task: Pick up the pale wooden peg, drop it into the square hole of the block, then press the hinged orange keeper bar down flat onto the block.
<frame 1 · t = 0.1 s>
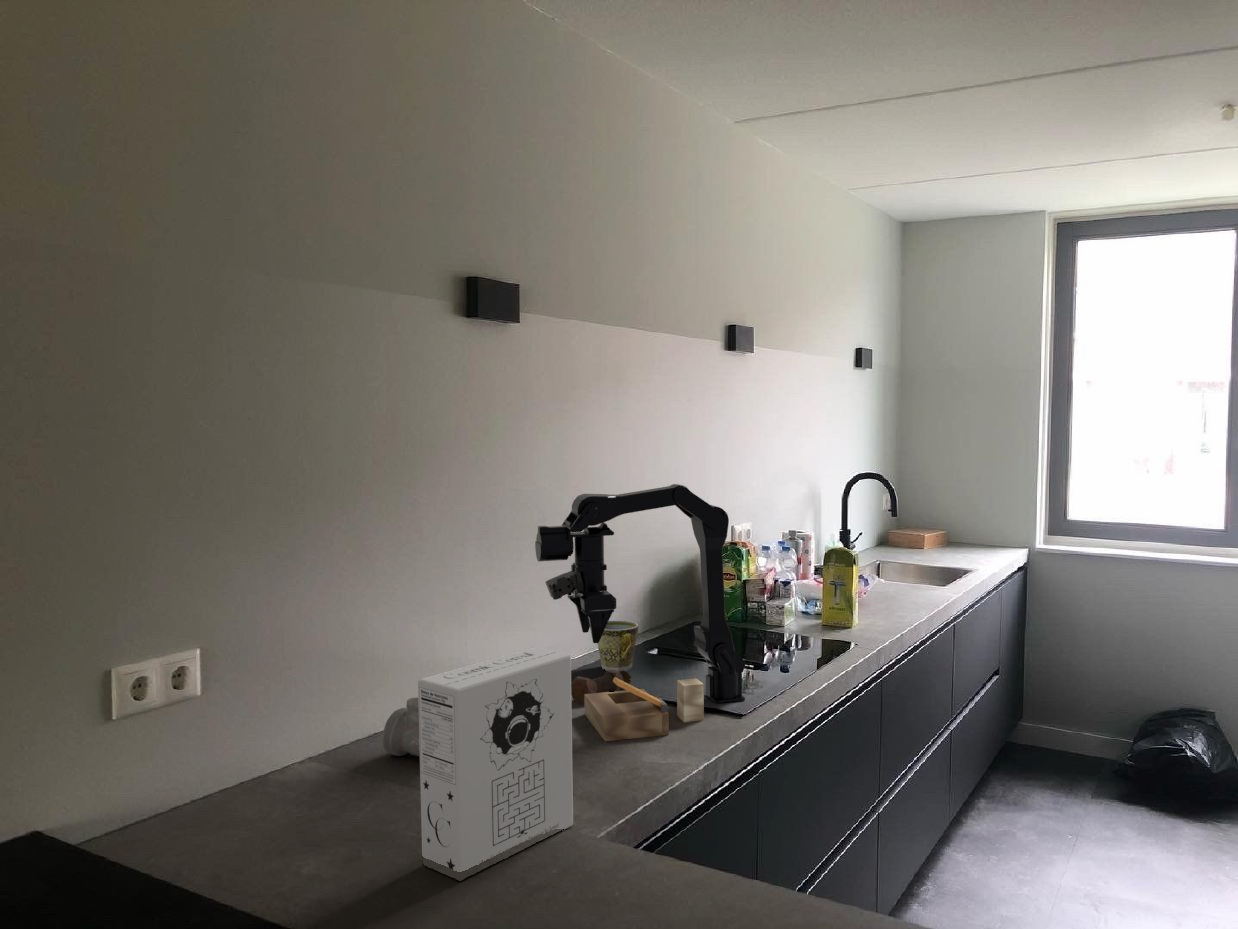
hand: (590, 637, 193), 15 cm above the countertop, fingers open, 9 cm apart
ceramic cup: (619, 670, 223), on the countertop
pipe fitting: (423, 760, 169), on the countertop
bolt: (604, 696, 205), on the countertop
peg: (690, 718, 189), on the countertop
cereal box: (501, 846, 135), on the countertop
gate: (639, 693, 181), point 7 cm above the countertop, hinge at 30.0°
block: (625, 724, 185), on the countertop
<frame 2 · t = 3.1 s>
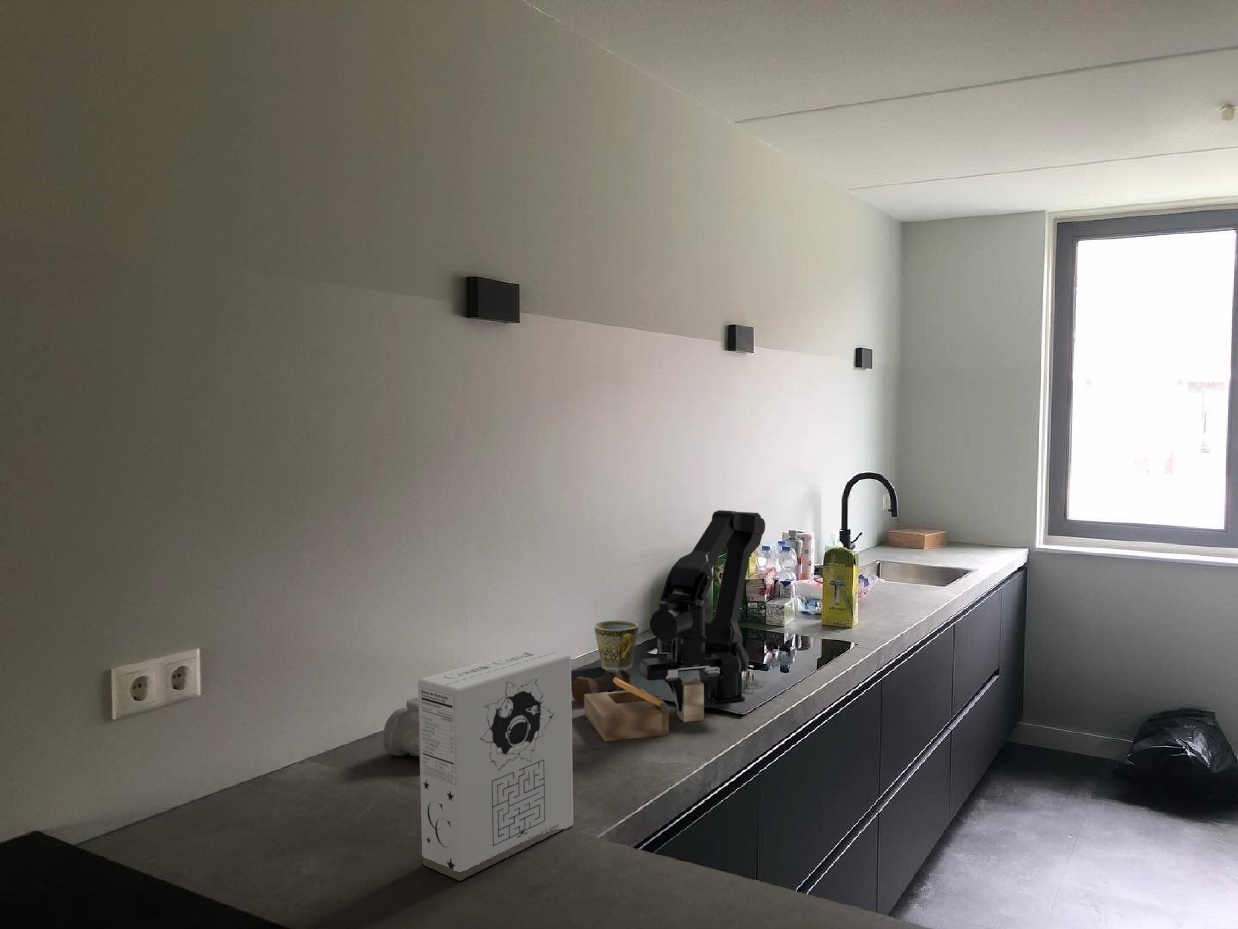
hand: (690, 710, 189), 2 cm above the countertop, fingers closed on peg, 4 cm apart
peg: (690, 717, 189), on the countertop, touching gripper
everything else where it was.
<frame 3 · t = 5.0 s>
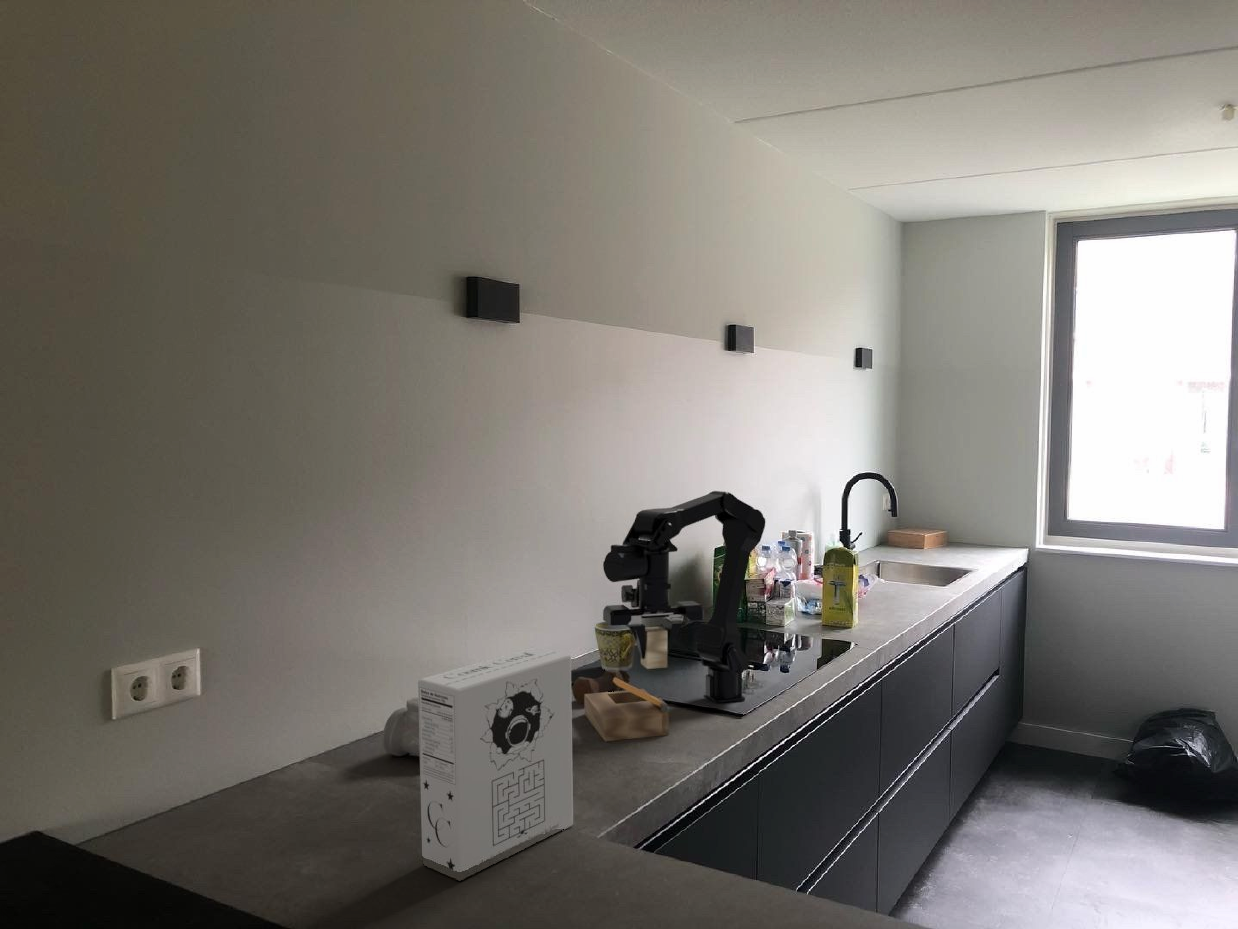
hand: (653, 657, 188), 12 cm above the countertop, fingers closed on peg, 4 cm apart
peg: (653, 665, 188), point 10 cm above the countertop, touching gripper
everything else where it was.
when the fingers open (5 cm above the countertop, at t = 7.2 s): peg drops 4 cm, resting in block.
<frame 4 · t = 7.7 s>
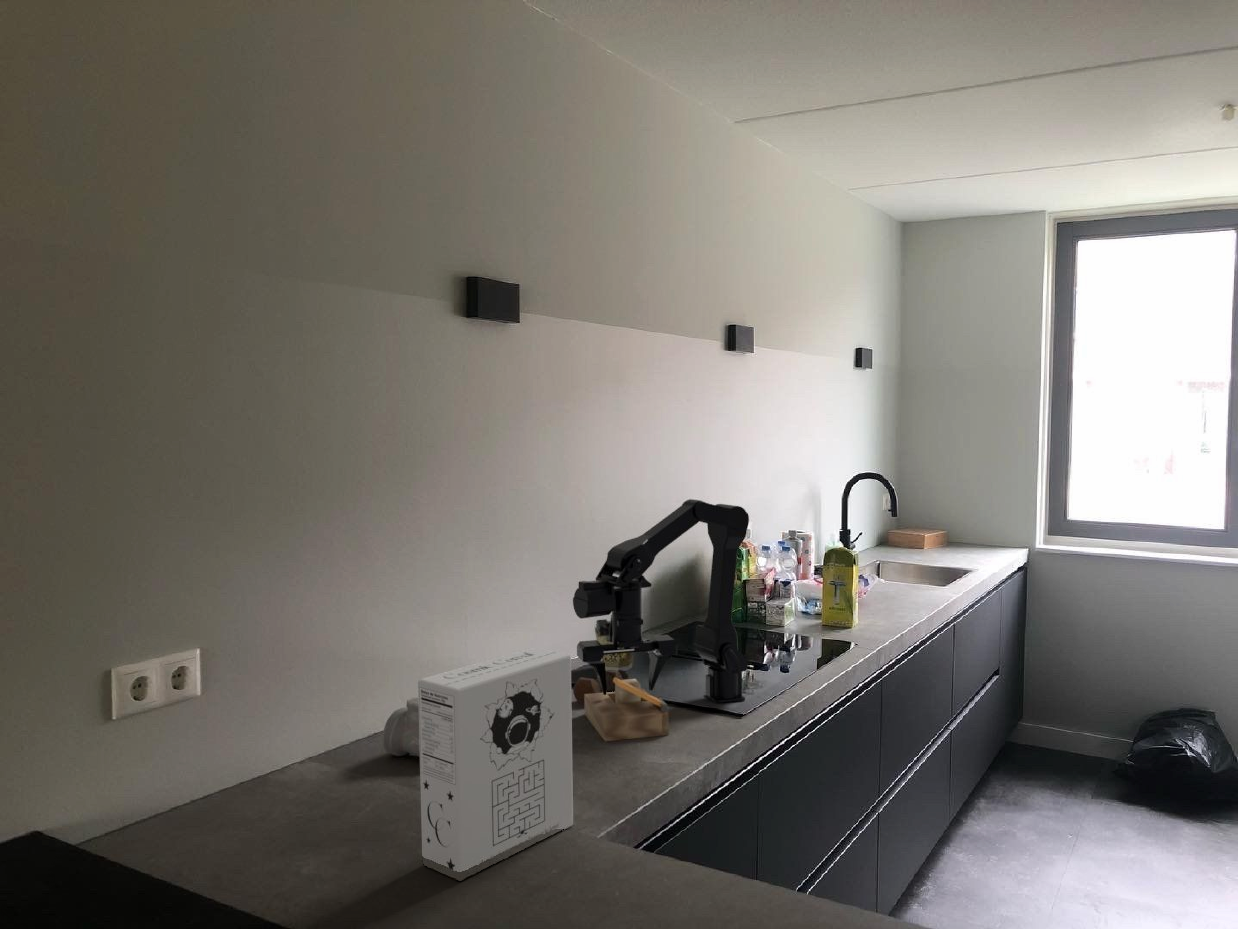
hand: (627, 692, 189), 5 cm above the countertop, fingers open, 9 cm apart
peg: (628, 718, 189), resting in block
everything else where it was.
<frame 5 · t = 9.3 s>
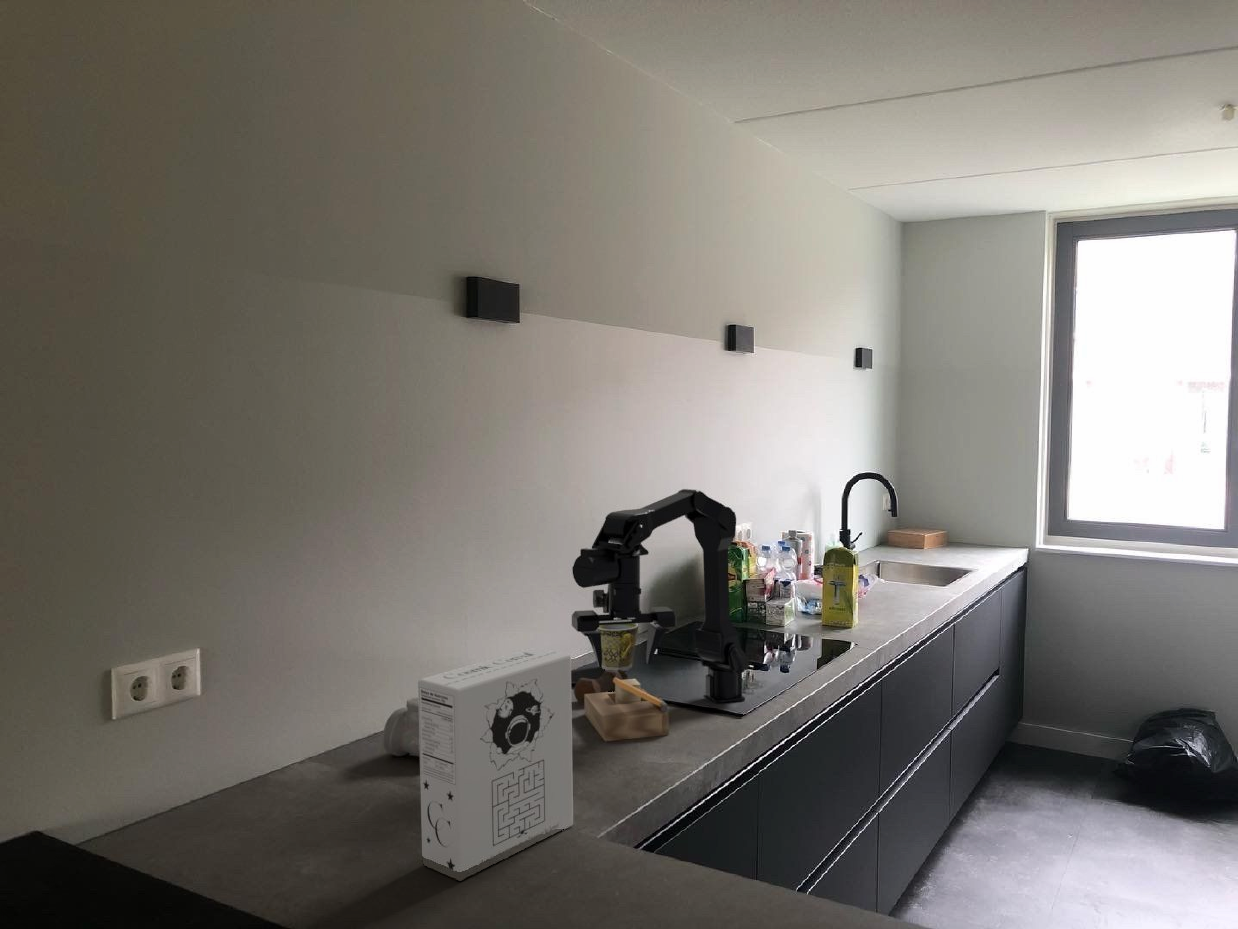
hand: (624, 665, 181), 12 cm above the countertop, fingers open, 9 cm apart
nothing on the countertop moved.
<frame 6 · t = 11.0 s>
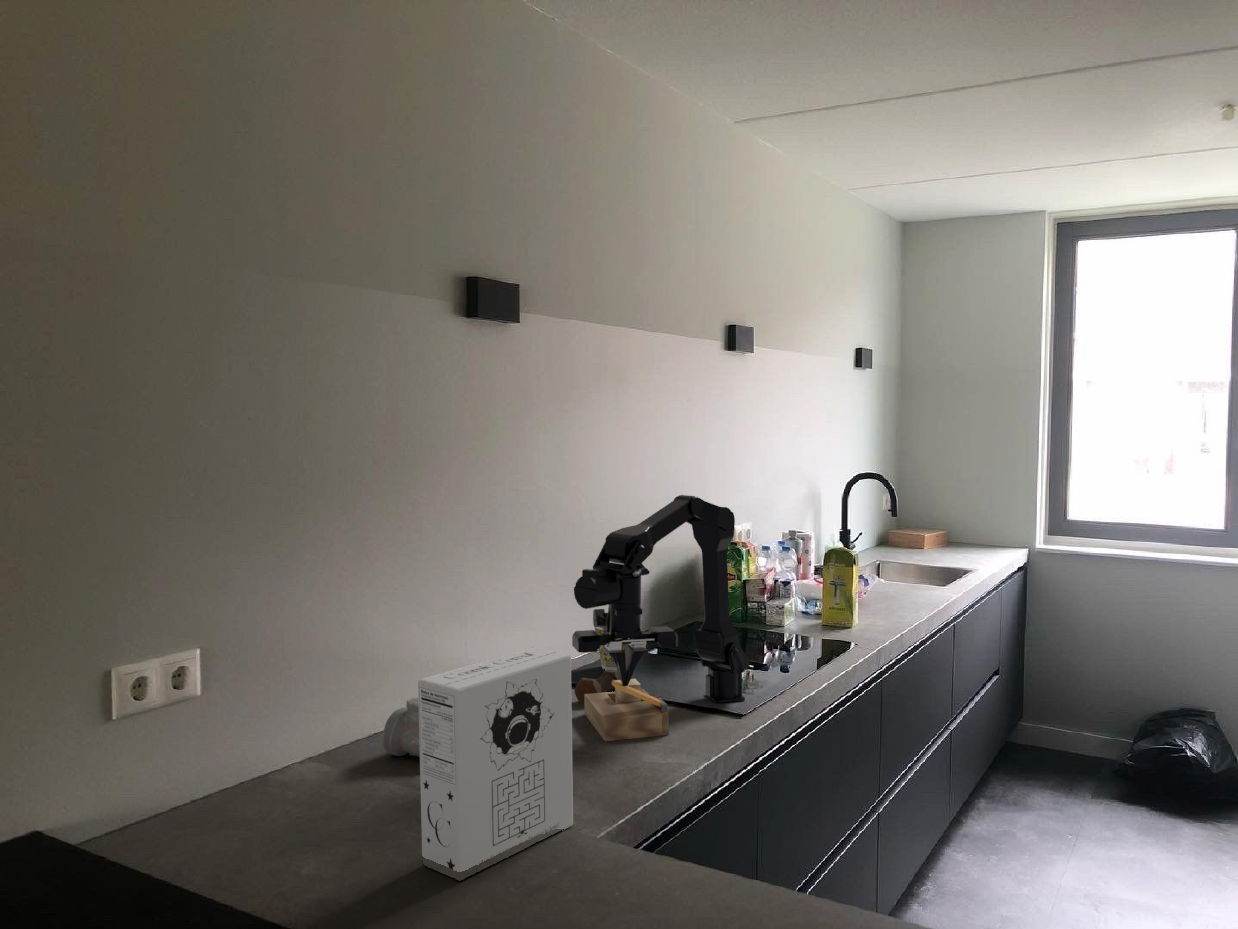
hand: (624, 685, 180), 9 cm above the countertop, fingers closed
gate: (639, 694, 181), point 7 cm above the countertop, hinge at 26.7°, touching gripper
everything else where it was.
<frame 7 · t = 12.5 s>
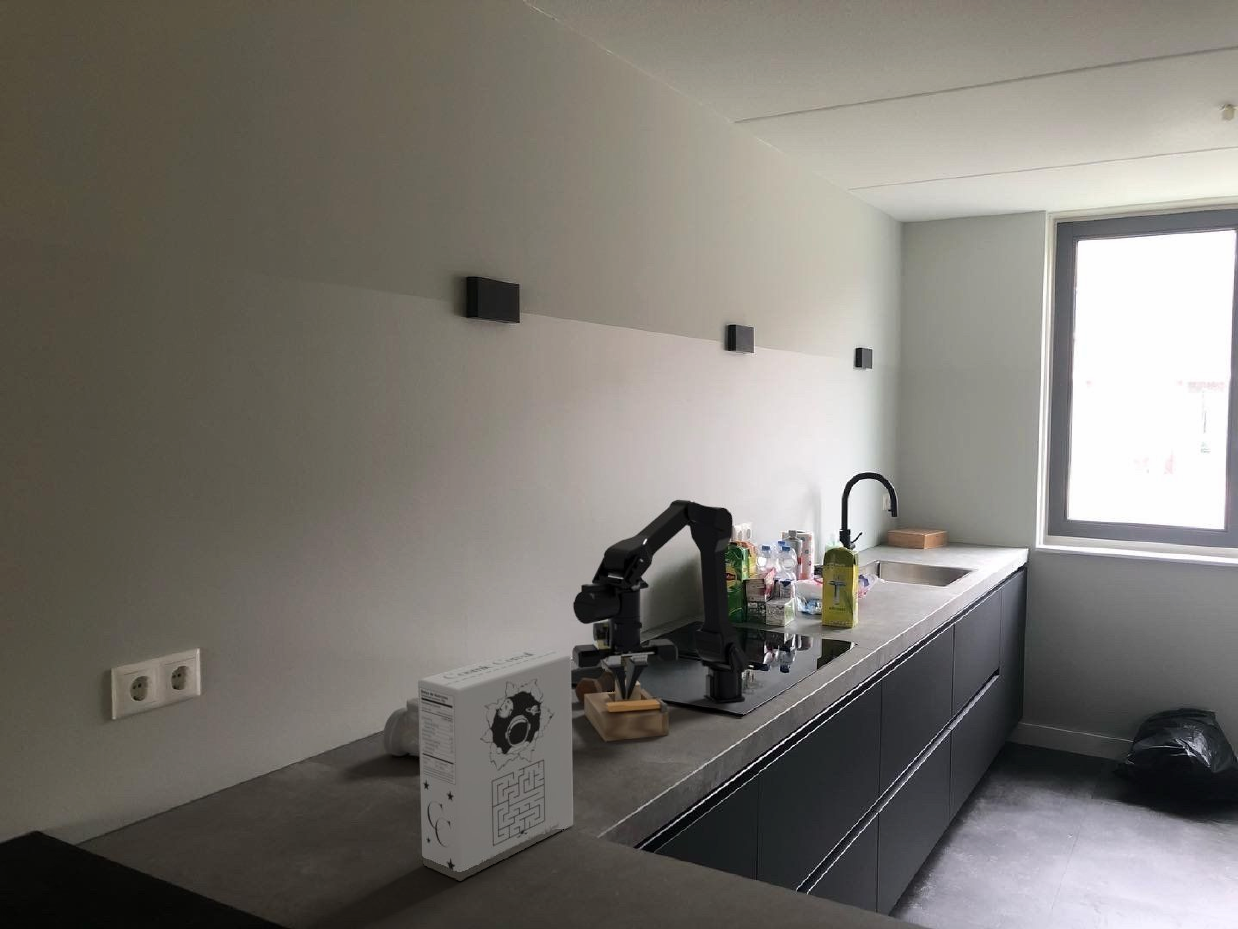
hand: (625, 699, 180), 6 cm above the countertop, fingers closed
gate: (635, 705, 181), point 5 cm above the countertop, hinge at 1.1°
everything else where it was.
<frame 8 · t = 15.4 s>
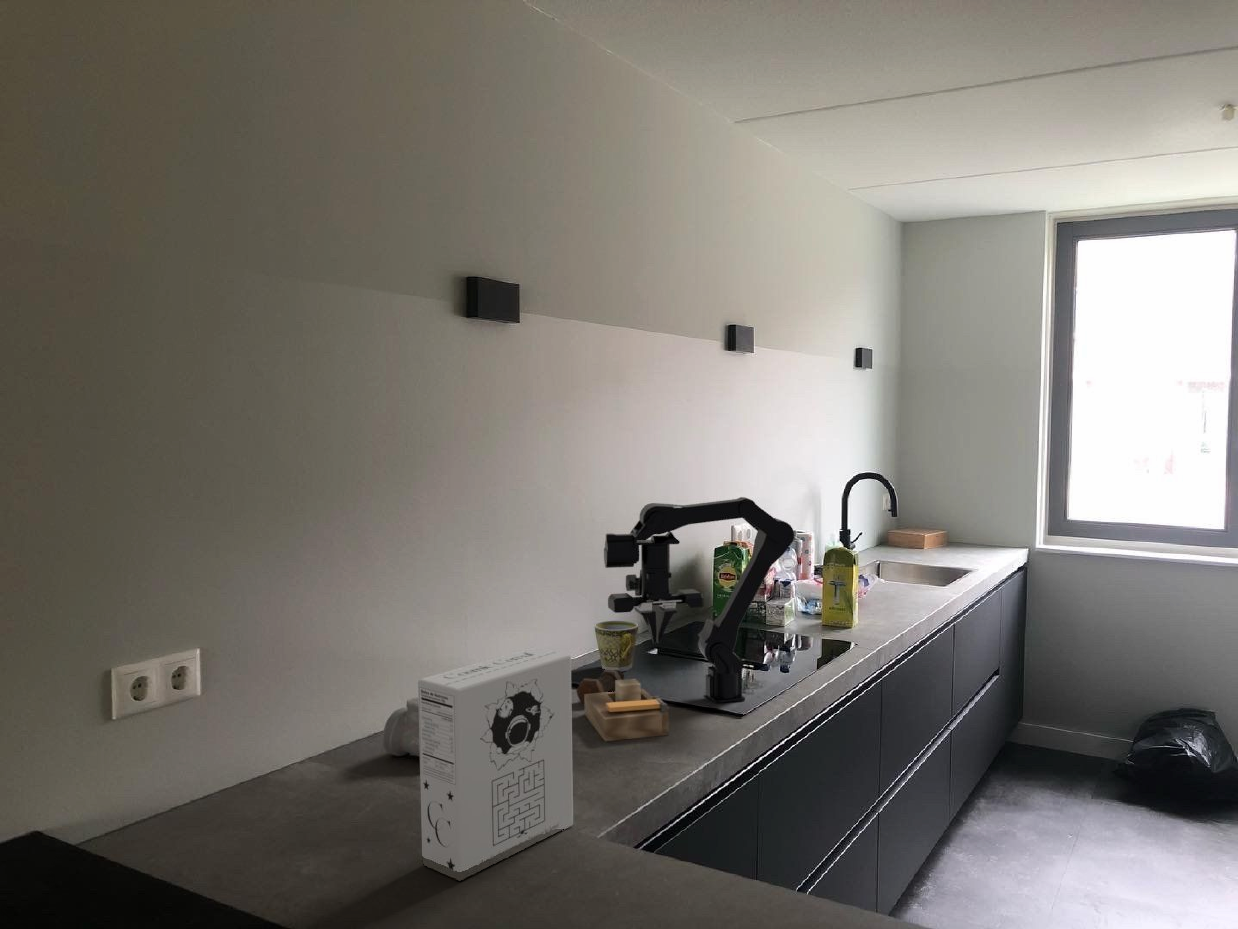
hand: (656, 642, 199), 12 cm above the countertop, fingers closed
at the end: peg 0.1 cm from the target spot on the block, point 0.0 cm above the block's base; peg tilted 0°; gate at +1° (first picture: +30°) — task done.
